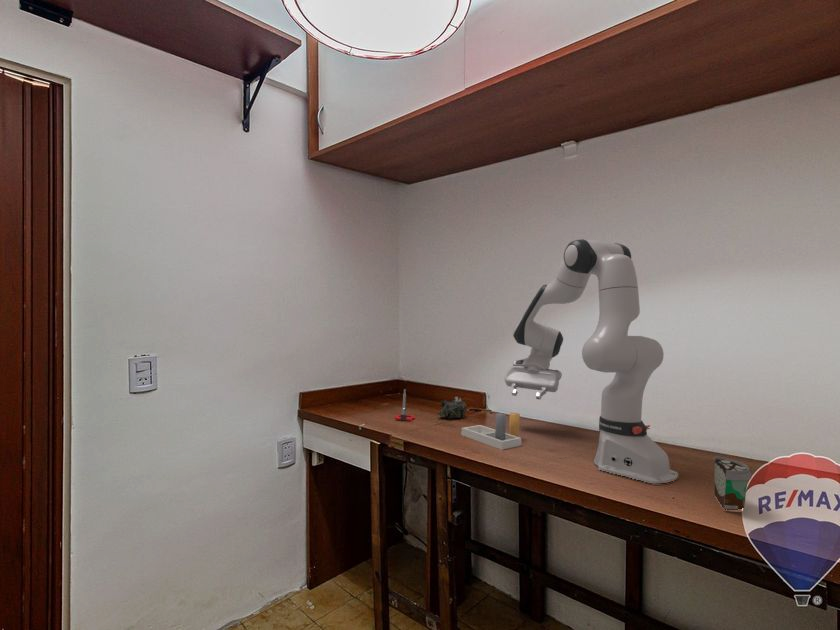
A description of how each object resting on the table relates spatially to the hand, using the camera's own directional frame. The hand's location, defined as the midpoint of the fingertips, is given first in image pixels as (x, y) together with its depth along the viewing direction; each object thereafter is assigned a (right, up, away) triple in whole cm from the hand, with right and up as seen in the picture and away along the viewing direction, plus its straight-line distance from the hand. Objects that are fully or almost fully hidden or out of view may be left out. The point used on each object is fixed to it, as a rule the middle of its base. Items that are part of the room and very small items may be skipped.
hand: (525, 396), depth 166 cm
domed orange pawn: (-6, -14, -9) cm, 18 cm away
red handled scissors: (-46, -13, +21) cm, 52 cm away
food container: (+36, -16, -59) cm, 71 cm away
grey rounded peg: (-12, -13, -16) cm, 24 cm away
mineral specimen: (-26, -14, +27) cm, 40 cm away
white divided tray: (-15, -14, -12) cm, 23 cm away
